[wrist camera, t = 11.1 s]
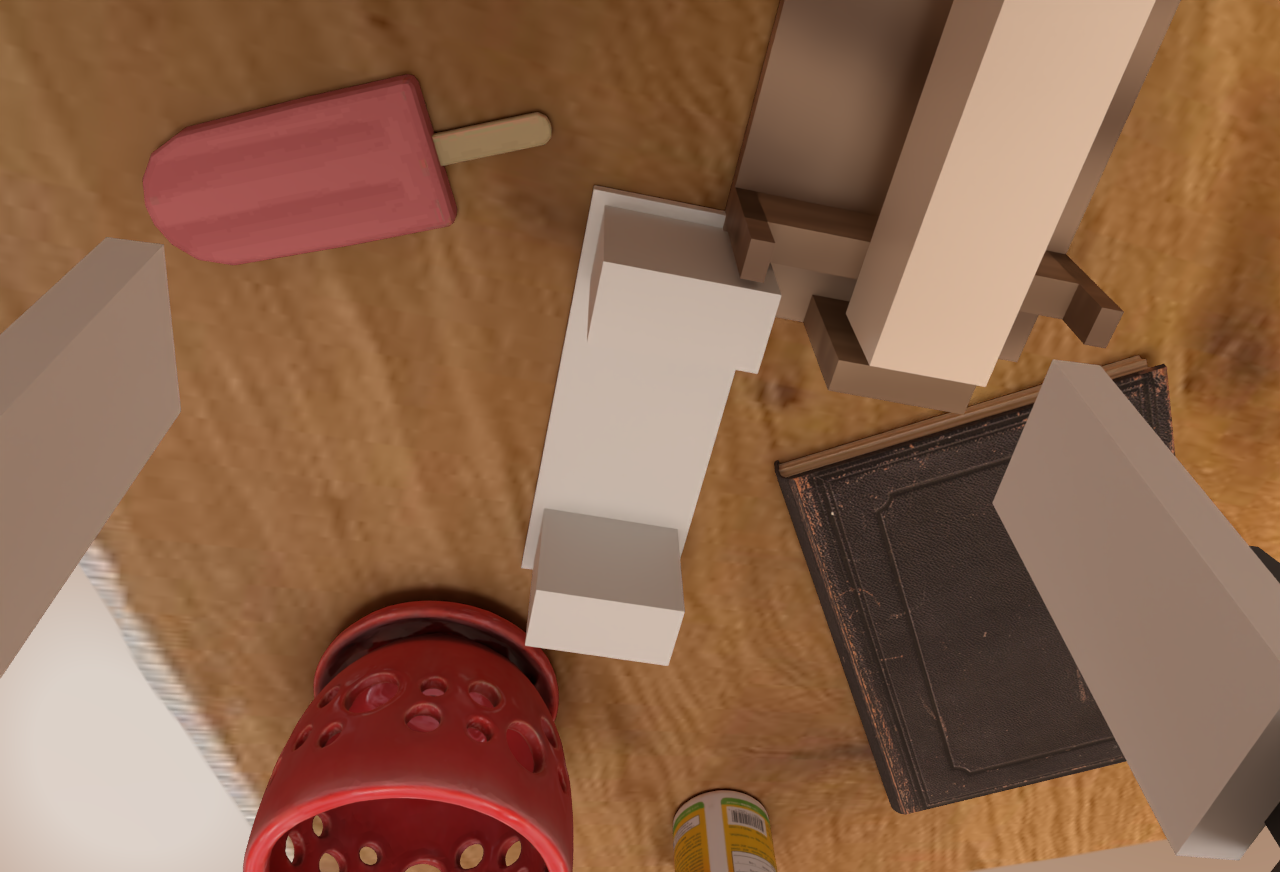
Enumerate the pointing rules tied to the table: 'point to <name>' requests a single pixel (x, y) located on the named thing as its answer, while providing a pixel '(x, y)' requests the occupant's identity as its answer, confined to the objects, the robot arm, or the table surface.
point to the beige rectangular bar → (986, 178)
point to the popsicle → (318, 173)
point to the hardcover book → (949, 602)
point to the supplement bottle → (723, 834)
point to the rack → (880, 180)
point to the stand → (636, 422)
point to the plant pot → (422, 751)
